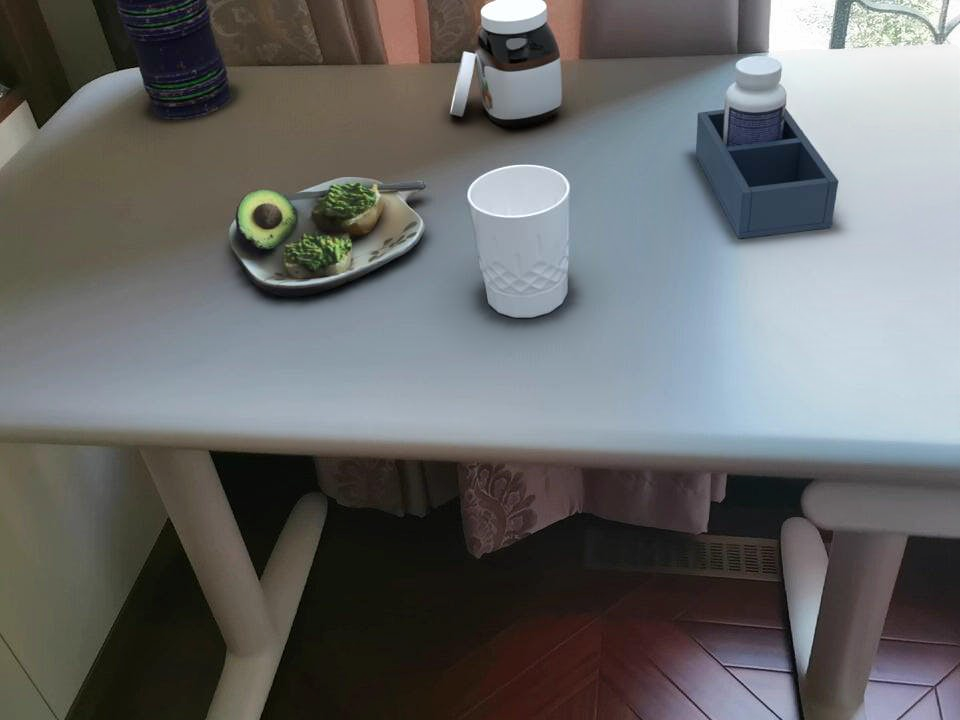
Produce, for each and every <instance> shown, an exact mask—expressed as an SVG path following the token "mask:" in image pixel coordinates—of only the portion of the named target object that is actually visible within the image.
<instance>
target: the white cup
mask: <svg viewBox="0 0 960 720" xmlns="http://www.w3.org/2000/svg"><path fill="white" fill-rule="evenodd" d="M570 186H571V185H570V182H569V180H568V179H567V177H566V176H565V175H564V174H562V173H561V172H559V171H557V170H555V169H554V168H550V167H547V166H543V165H539V164H538V165H537V164H513V165H507V166H503V167H499V168H495V169H493V170H490V171H487V172H486V173H484V174H481V175H480V176H479V177H477V178H476V179H475V180H474V181H472V183H471V184H470V185H469V187H468V189H467V193H466V194H467V195H466V196H467V202H468V209H469V215H470V219H471V226H472V232H473V237H474V243H475V244H474V245H475V248H476V251H477V259H478V263H479V267H480V272H481V273H480V274H481V275H482V278H483V282H484V286H485V293H486V298H487V304H488V305H489V306H490V307H492V308H493V309H494V310H495V311H496V312H497V313H499V314H501V315H505V316H508V317H511V318H535V317H538V316H542V315H546V314H549V313H551V312H553V311H554V310H555V309H557V308H558V307H560V306H561V305H562V304H563V303H564V302H565V301H564V300H565V299H566V296H567V294H568V289H569V288H568V283H569V282H568V269H569V260H570V209H571V207H570V206H571V205H570V204H571V202H570V201H571V199H570V198H571V192H570V191H571V187H570Z"/></svg>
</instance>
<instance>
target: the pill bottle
mask: <svg viewBox="0 0 960 720" xmlns="http://www.w3.org/2000/svg"><path fill="white" fill-rule="evenodd" d="M782 69H783V64H782V63H781V61H780V60H778V59H777V58H774V57H771V56H765V55H762V56H761V55H755V56H748V57H744V58H741V59H739V60H738V61H737V62H736V64H735V68H734V74H733V78H734V82H733V83H732V84H731V85H729V87H728V88H727V89H726V91H725V97H724V123H723V139H722V141H723V143H724V144H725V146H726V147H729V146H738V145H746V144H754V143H762V142H770V141H778V140H782V135H783V126H784V117H785V109H787V108H786V107H787V99H788V97H787V90H786V89H785V87H784V86H783V85H782V84H781V83H780V82H781V78H782V71H783V70H782Z"/></svg>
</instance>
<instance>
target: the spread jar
mask: <svg viewBox="0 0 960 720" xmlns="http://www.w3.org/2000/svg"><path fill="white" fill-rule="evenodd" d="M480 20H481V28H480V29H479V31H478V32H477V34H476V38H475V42H474V43H475V44H474V52H475V53H472V52H469V51H463V52H462V56H461V60H460V63H459V68H458V73H457V77H456V82H455V87H454V92H453V97H452V101H451V107H450V115H453V116H457V117H461V118H462V117H463V116H464V113H465V109H466V105H467V101H468V98H469V97H468V96H469V92H470V89H471V83H472V79H473V74H474V69H475V64H476V72H477V74H476V75H477V82H478V88H479V93H480V97H481V102H482V104H483V107H484V110H485V112H486V114H487V116H488V117H489V119H490V120H491V121H492V122H493V123H495V124H497V125H499V126H502V127H506V128H526V127H527V128H528V127H531V126H532V127H533V126H535V125H538V124H541V123H543V122H545V121H546V120H548V119H550V118H551V117H552V116H554V115H555V114H556V113H557V112H558V111H559V109H560V107H561V105H562V102H563V101H562V100H563V83H562V64H561V63H562V62H561V53H560V48H559V45H558V42H557V40H556V37H555V33H554V32H553V30H552V29H551V26H550V25H549V23H548V22H547V21H548V7H547V4H546V2H545V1H544V0H492V1H490V2H489V3H487V4H485V5H484V6H482V8H481V9H480ZM475 62H476V63H475Z"/></svg>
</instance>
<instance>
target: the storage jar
mask: <svg viewBox="0 0 960 720" xmlns="http://www.w3.org/2000/svg"><path fill="white" fill-rule="evenodd" d="M207 2H208V0H115V3H116V5H117V11H118V15H119V17H120V19H121V21H122V23H123V27H124V30H125V32H126V35H127V36H128V38H130V40H131V42H132V46H133V48H134V51H135V55H136V58H137V61H138V63H139V66H138V69H139V73H140V75H141V78H142V84H143V87H144V91H145V92H146V94H147V95H148V99H149V100H150V101H151V106H152V111H153V112H154V114H155V115H156V116H158V117H159V118H162V119H168V120H187V119H192V118H197V117H201V116H205V115H207V114H210V113H212V112H214V111H215V112H216V111H218V110H219V109H221V108H223V107H224V106H226V104H228V103H229V101H231V99H232V97H233V91H232V89H231V88H232V87H231V86H230V85H229V78H228V71H227V67H226V63H225V62H224V60H223V56H222V52H221V49H220V48H219V46H217V42H216V38H215V35H214V32H213V28H212V25H211V21H210V20H211V14H210V12H211V11H210V8H209V7H208V4H207Z"/></svg>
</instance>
